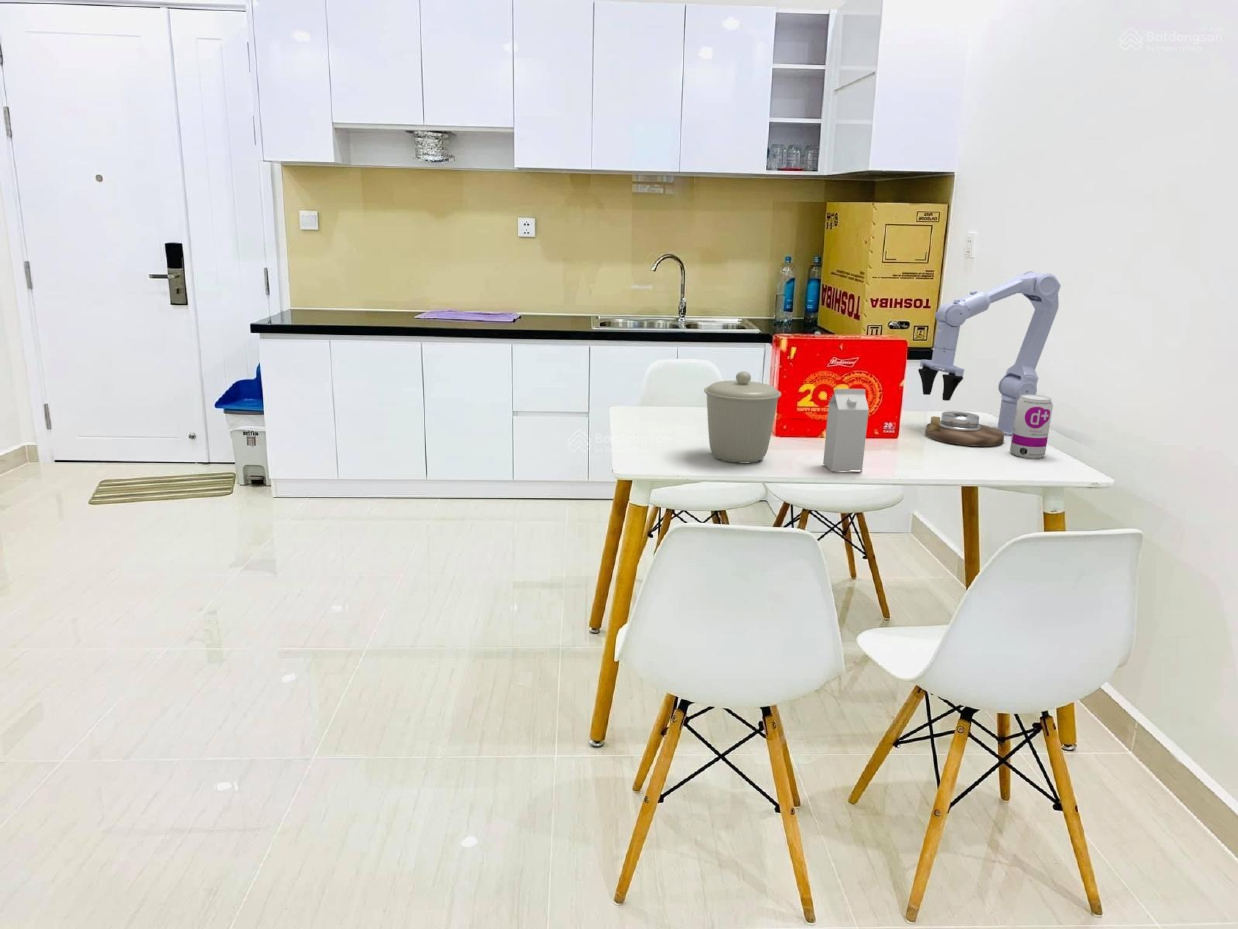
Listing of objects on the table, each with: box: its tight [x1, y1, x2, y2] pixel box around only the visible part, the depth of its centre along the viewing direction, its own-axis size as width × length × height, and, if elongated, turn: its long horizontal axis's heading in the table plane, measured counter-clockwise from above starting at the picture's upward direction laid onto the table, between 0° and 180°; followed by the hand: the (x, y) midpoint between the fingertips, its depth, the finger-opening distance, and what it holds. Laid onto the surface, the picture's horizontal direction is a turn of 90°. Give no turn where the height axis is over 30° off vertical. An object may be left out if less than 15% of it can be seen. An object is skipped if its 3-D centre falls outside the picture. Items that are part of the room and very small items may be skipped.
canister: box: [703, 371, 782, 463], centre depth 217 cm, size 18×18×21 cm
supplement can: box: [1009, 394, 1054, 460], centre depth 230 cm, size 8×8×15 cm
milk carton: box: [822, 388, 870, 472], centre depth 211 cm, size 7×7×19 cm
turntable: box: [925, 415, 1005, 447], centre depth 247 cm, size 20×20×6 cm
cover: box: [940, 410, 981, 432], centre depth 249 cm, size 11×11×4 cm
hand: (936, 397), depth 250 cm, fingers open, 7 cm apart
